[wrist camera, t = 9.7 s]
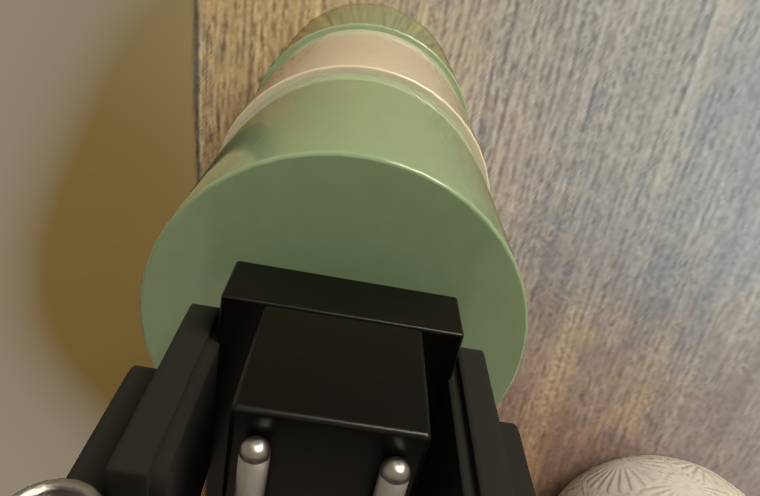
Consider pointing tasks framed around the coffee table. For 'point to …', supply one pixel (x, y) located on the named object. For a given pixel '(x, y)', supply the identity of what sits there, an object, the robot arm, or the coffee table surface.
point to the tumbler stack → (349, 188)
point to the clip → (326, 384)
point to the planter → (649, 479)
